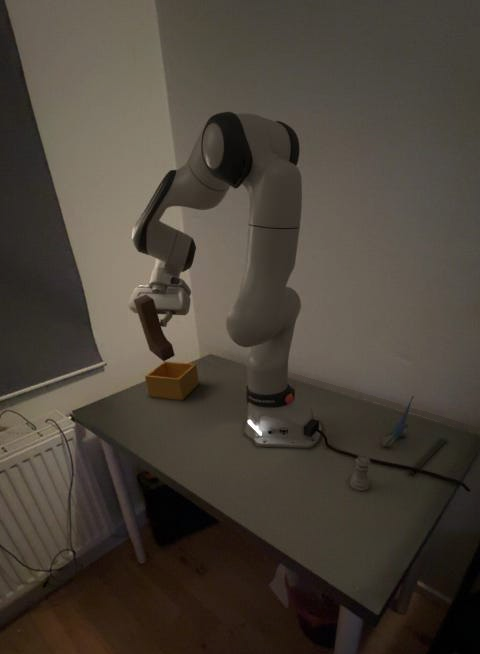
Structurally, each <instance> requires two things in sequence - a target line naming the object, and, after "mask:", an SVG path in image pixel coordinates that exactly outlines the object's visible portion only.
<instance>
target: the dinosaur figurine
mask: <svg viewBox="0 0 480 654" xmlns="http://www.w3.org/2000/svg"><path fill="white" fill-rule="evenodd" d="M413 399H414V396H413V395H412V396H411V398H410V401H409V403H408V405H407V407H406V409H405V410H404V412H403V414H402V416H401V418H400V419H399V421H397V422H396V423H395V424H394V425H395V426H394V427H393V430H392V433H391V435H389V436H385V435H384V436H383V437H381V439H380V440H381V445H382V446H383V447H386V449H388V448H389V447H390V446H391V445H392V443H394V441H396V440H397V439H399V438H404V437H405V433H406V428H408V427H409V424H407V423H406V421H407V416H408V413H409V409H410V407H411V404H412V401H413ZM405 423H406V424H405Z"/></svg>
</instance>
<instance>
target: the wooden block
mask: <svg viewBox="0 0 480 654" xmlns="http://www.w3.org/2000/svg"><path fill="white" fill-rule="evenodd" d="M134 303H135V306H136V309H137V312H138V313H137V315H138V319H139V321H140V324H141V328H142V330H143V334H144V336H145V340H146V343H147V346H148V349H149V351H150V352H151V353H153V355H155V356H156V357H157V358H159V360H161V361H162V362H164V361H165V362H167V361H168V360H169V359H171V358H173V357H175V355H176V354H175V351H174V347H173V344H172V343H171V342H170V341H169V340H168V339H167V337H166V335H165V334H164V331H163V329H162V328H163V327H162V326H161V325H160V318H159V314H157V310H156V307H155V303H154V299H153V298H151V297H149V296H148V295H144V296H141V297H139V298H136V299H134Z"/></svg>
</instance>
